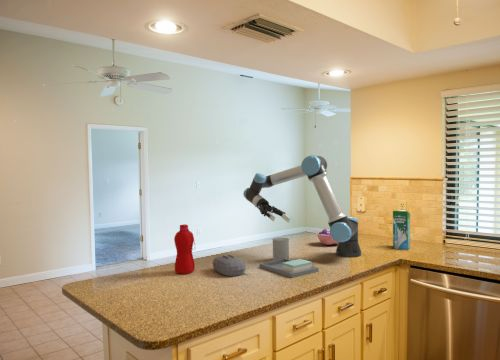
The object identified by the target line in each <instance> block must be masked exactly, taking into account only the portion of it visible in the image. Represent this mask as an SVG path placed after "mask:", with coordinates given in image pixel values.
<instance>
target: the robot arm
mask: <svg viewBox="0 0 500 360" xmlns="http://www.w3.org/2000/svg"><path fill="white" fill-rule="evenodd" d="M301 161H302V162H301V164H300V165H297V166H295V167H291V168H288V169H284V170H282V171H278V172H276V173H273V174H270V175H265V174H263V173H259V172H256V173H255V175H254V177H252V178H253V179H252V181H251V184H250V186H249V187H246V188H245V190H243V193H242V194H243V197H244V198H245V200H247V201H248V202H249V203H251V204H252V205H253V206H254V207H255V208H257V209H258V211H260V214H261V215H263V217H267V218H269V219H270V220H271V221H272V222H275V219H276V216H274V215H277V216H280V217H281V218H282V220H284V221H285V222H287V223H290V221H291V218H290V217H289V216H288V215H287V214H286V212H285V211H282V210H281V209H279V208H277V207H275V206H274V205H270V203H269V201H268V200H267V199H266V198H265V197H263V196H262V195H261V194H260V193H261V192H262V189H264V188H271V187H273V186H277V185H281V184H283V183H287V182H290V181H293V180H297V179H300V178H303V177H306V176H307V178H308V181H309V182H311V183H313V185H314V188H315V190H316V192H317V195H318V198H319V199H320V202H321V204H322V206H323V208H324V211H325V213H326V215H327V217H328V222H327V224H328V226H329V231H330V235H331V237H332V238H333V239H334V240H335V241H337V242H338V244H336V245H337V246H336V249H335V254H336V255H337V256H339V257H346V258H355V257H360V256H362V249H361V246H360V244H359V243H360V242H359V221H358V220H359V219H358V217H348V216H347V214H345V213H343V212H342V209H341V207H340V205H339V201H338V200H337V198H336V196H335V193H334V191H333V189H332V186H331V184H330V181H329V180H328V178H327V175H328V171H327V169H328V163H327V160H326V159H325V158H324V157H323V156H320V155H313V154H311V155H308V156H305V157H304V158H303V160H301ZM273 214H274V215H273Z"/></svg>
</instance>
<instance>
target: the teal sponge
mask: <svg viewBox="0 0 500 360" xmlns="http://www.w3.org/2000/svg"><path fill="white" fill-rule="evenodd" d="M312 264H313V261H310V260H306V259H301V258H297V259H294V260H293V261H288V262H283V263H282V265H283V270H284V271H287V272H291V273H294V272H299V271H303V270H307V269H312V268H311V266H312Z"/></svg>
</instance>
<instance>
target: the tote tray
mask: <svg viewBox="0 0 500 360" xmlns="http://www.w3.org/2000/svg"><path fill="white" fill-rule="evenodd" d="M288 261H293V260H292V259H290V258H289V259H280V260H274V261H273V260H269V261H266V262H265V261H264V262H260V263H259V265H258V266H259V268H261V269H264V270H267V271H268V272H273V273H276V274H278V275H282V276H284V277H288V278H290V279H293V278H297V277H302V276H306V275H310V274H315V273H318V272H319V267H318V266H314V265H311V268H312V269H307V270H303V271H299V272H294V273H291V272H287V271H284V270H283V265H282V263H283V262H288Z"/></svg>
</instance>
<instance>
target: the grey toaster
mask: <svg viewBox="0 0 500 360" xmlns="http://www.w3.org/2000/svg"><path fill="white" fill-rule="evenodd" d="M212 267H213V269H214V270H215V272H216V273H218V274H220V275H222V276H227V277H228V276H229V277H231V276H232V277H235V276H240V275H243V274H244V273H245V272H246V263H245V262H244V260H243V259H241V258H239V257H237V256H233V255H230V254H227V255H220V256H217V257H215V258H213V260H212Z"/></svg>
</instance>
